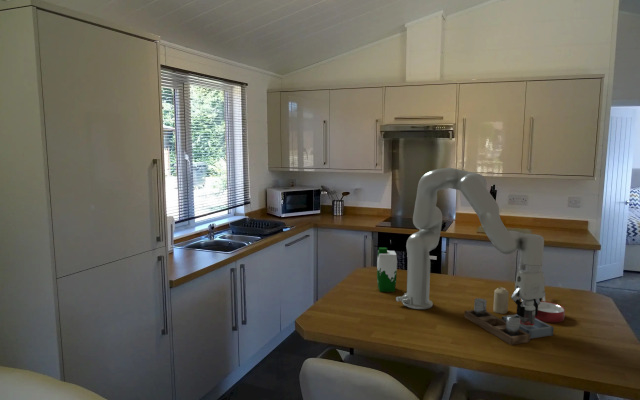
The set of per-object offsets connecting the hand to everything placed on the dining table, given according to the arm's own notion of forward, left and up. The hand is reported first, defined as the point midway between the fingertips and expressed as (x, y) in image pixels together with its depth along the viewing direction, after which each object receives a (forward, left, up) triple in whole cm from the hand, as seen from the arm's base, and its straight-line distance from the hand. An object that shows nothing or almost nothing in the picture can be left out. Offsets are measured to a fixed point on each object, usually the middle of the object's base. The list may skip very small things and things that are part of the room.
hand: (527, 314), depth 168 cm
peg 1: (-11, +13, -6) cm, 18 cm away
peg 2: (-11, -5, -6) cm, 13 cm away
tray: (0, 0, -6) cm, 6 cm away
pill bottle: (0, 0, -4) cm, 4 cm away
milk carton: (-30, +57, -6) cm, 65 cm away
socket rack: (-11, +4, -6) cm, 13 cm away
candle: (+3, +18, -6) cm, 19 cm away
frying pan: (+22, +15, -6) cm, 28 cm away
